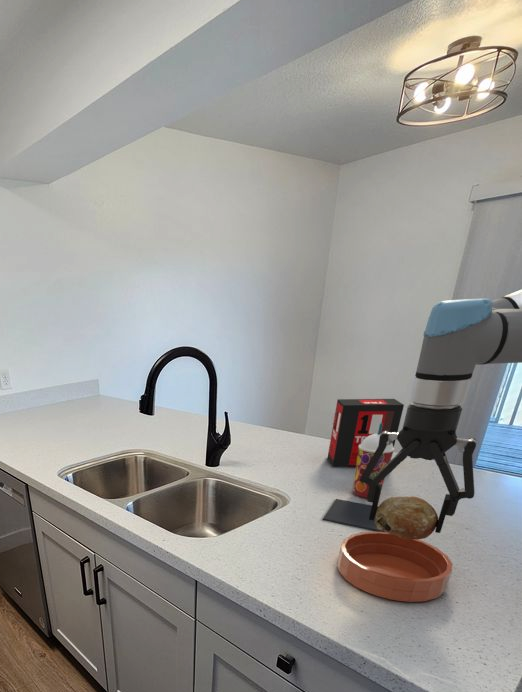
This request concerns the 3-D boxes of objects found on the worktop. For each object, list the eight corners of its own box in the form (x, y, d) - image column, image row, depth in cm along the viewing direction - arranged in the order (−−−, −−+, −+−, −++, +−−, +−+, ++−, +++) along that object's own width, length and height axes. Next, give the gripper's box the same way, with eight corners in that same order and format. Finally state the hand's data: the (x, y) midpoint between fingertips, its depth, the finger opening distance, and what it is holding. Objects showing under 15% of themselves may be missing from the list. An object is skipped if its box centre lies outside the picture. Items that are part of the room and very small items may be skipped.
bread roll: (365, 536, 87) (358, 507, 83) (403, 506, 88) (399, 476, 83) (411, 559, 79) (407, 528, 74) (453, 526, 79) (451, 494, 75)
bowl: (447, 566, 89) (454, 545, 86) (441, 616, 76) (449, 593, 73) (347, 543, 99) (351, 524, 97) (327, 583, 86) (331, 562, 84)
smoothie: (376, 488, 125) (392, 419, 116) (387, 500, 118) (405, 427, 109) (345, 488, 126) (359, 419, 117) (354, 499, 119) (369, 427, 110)
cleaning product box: (332, 467, 142) (343, 405, 133) (327, 458, 150) (337, 399, 141) (388, 468, 138) (404, 404, 129) (380, 459, 146) (394, 398, 137)
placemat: (422, 515, 109) (422, 514, 109) (416, 539, 99) (416, 537, 99) (335, 500, 120) (336, 498, 120) (322, 519, 110) (323, 518, 110)
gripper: (523, 403, 68) (479, 528, 78) (363, 395, 81) (343, 504, 91) (526, 414, 63) (479, 546, 73) (355, 404, 75) (334, 518, 86)
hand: (404, 523), depth 82 cm, fingers closed on bread roll, 10 cm apart
